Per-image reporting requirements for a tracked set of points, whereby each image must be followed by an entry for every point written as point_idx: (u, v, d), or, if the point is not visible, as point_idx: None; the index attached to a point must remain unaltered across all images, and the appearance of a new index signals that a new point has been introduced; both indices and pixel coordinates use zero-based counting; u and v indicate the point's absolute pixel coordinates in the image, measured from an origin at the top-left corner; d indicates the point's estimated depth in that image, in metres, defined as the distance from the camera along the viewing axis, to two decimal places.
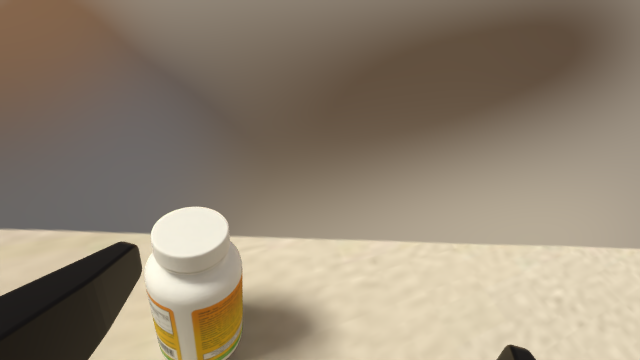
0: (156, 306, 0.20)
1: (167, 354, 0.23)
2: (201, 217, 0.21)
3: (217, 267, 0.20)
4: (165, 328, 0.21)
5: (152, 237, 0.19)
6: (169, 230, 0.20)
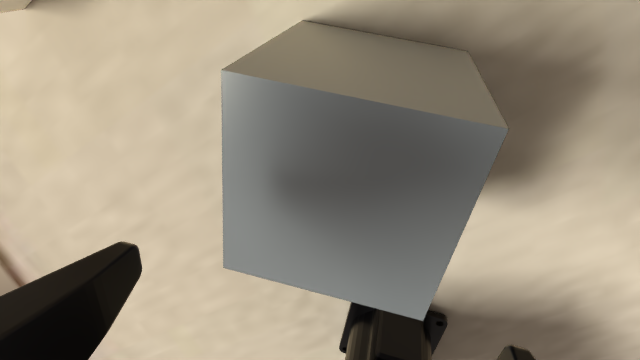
0: None
1: None
2: None
3: None
4: None
5: None
6: None
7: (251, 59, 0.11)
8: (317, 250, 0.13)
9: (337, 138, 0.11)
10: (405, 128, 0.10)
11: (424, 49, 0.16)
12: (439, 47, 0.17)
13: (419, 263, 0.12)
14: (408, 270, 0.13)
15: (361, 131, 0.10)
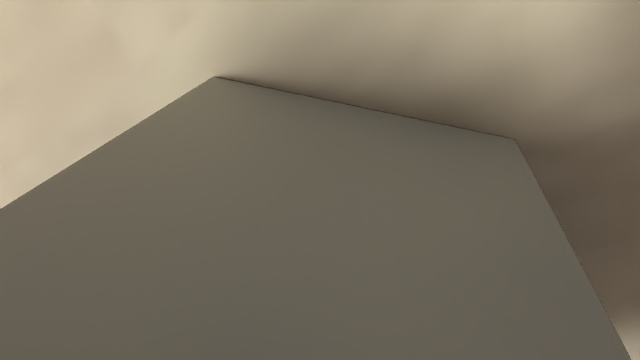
0: None
1: None
2: None
3: None
4: None
5: None
6: None
7: None
8: None
9: None
10: None
11: (434, 145, 0.08)
12: (462, 134, 0.09)
13: None
14: None
15: None
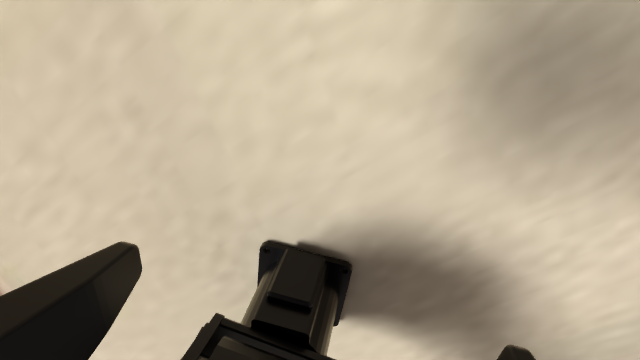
0: None
1: None
2: None
3: None
4: None
5: None
6: None
7: None
8: None
9: None
10: None
11: None
12: None
13: None
14: None
15: None
